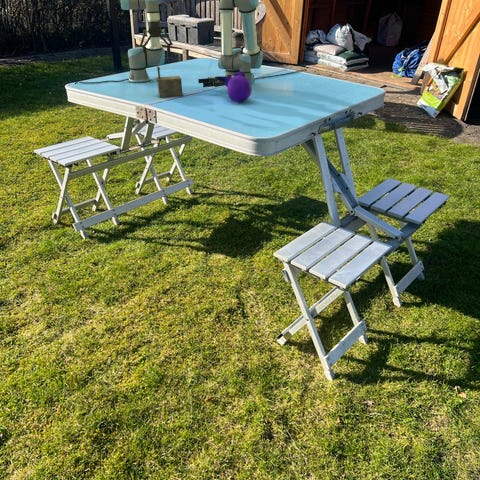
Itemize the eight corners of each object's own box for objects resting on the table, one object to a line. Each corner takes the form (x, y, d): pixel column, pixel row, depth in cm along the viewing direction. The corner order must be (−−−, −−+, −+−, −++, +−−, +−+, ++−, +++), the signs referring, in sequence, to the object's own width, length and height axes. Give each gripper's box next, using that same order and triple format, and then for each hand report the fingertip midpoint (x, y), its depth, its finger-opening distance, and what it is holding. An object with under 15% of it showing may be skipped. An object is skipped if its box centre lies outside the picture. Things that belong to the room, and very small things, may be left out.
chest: (159, 97, 290) (158, 81, 285) (158, 94, 298) (156, 79, 293) (182, 96, 294) (181, 80, 289) (180, 93, 301) (179, 77, 296)
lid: (156, 81, 285) (155, 68, 281) (155, 79, 293) (153, 65, 289) (181, 80, 289) (180, 66, 284) (179, 77, 296) (178, 64, 292)
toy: (237, 93, 295) (251, 108, 274) (212, 89, 288) (224, 103, 267) (243, 69, 287) (258, 82, 266) (217, 64, 279) (231, 76, 259)
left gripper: (173, 19, 278) (176, 56, 289) (132, 21, 273) (137, 58, 284) (175, 20, 272) (178, 57, 283) (133, 22, 267) (138, 60, 277)
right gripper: (237, 90, 292) (205, 92, 287) (226, 82, 313) (197, 85, 308) (236, 78, 289) (204, 80, 283) (226, 71, 309) (196, 73, 304)
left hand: (157, 58), depth 283 cm, fingers open, 13 cm apart
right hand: (200, 83), depth 296 cm, fingers open, 13 cm apart
